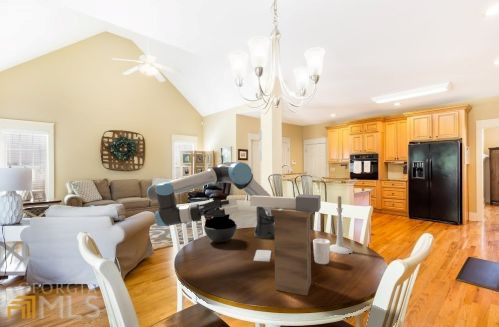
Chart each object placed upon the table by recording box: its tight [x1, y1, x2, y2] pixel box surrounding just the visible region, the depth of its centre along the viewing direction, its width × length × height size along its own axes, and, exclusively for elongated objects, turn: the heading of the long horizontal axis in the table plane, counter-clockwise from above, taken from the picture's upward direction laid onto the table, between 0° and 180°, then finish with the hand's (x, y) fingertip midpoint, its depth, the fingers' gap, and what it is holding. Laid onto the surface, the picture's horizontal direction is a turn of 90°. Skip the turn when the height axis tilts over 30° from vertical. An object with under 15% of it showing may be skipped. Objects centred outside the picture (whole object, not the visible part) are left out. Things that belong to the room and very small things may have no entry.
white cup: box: [312, 238, 331, 265], centre depth 118 cm, size 8×8×10 cm
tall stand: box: [271, 208, 314, 296], centre depth 94 cm, size 12×14×30 cm
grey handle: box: [249, 193, 322, 213], centre depth 96 cm, size 9×27×5 cm, turn 69°
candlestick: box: [330, 195, 354, 255], centre depth 134 cm, size 13×13×30 cm
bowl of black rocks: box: [203, 214, 238, 243], centre depth 151 cm, size 20×20×19 cm
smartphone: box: [252, 249, 273, 263], centre depth 126 cm, size 8×1×15 cm
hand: (237, 205), depth 112 cm, fingers open, 13 cm apart
